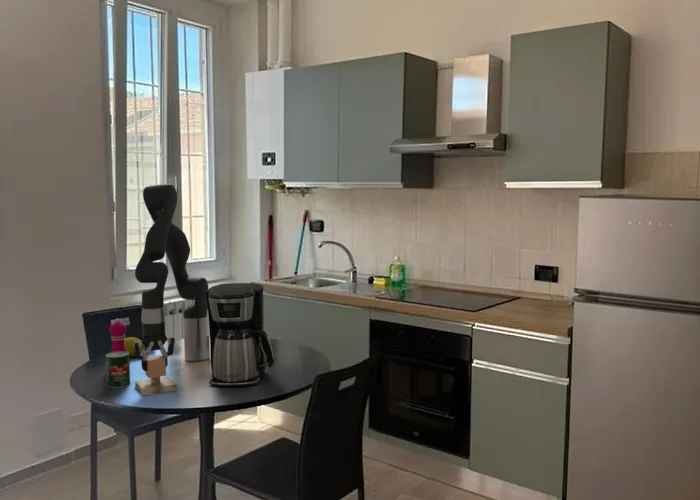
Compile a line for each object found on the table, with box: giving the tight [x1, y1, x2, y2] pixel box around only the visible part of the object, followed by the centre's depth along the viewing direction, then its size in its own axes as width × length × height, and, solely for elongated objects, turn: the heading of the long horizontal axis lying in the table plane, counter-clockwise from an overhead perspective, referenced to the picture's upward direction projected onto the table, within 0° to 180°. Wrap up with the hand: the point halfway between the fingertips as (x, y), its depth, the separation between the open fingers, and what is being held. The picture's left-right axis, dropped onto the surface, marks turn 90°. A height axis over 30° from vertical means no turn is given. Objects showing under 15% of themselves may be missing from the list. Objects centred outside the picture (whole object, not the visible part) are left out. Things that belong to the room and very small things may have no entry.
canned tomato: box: [104, 351, 131, 389], centre depth 219 cm, size 8×8×11 cm
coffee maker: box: [206, 282, 275, 388], centre depth 229 cm, size 23×32×34 cm
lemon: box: [124, 336, 145, 358], centre depth 257 cm, size 11×8×8 cm
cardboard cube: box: [144, 354, 167, 379], centre depth 214 cm, size 6×6×6 cm
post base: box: [134, 375, 178, 397], centre depth 215 cm, size 11×11×7 cm
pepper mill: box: [108, 318, 127, 353], centre depth 236 cm, size 7×7×20 cm
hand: (154, 369), depth 214 cm, fingers closed on cardboard cube, 5 cm apart
